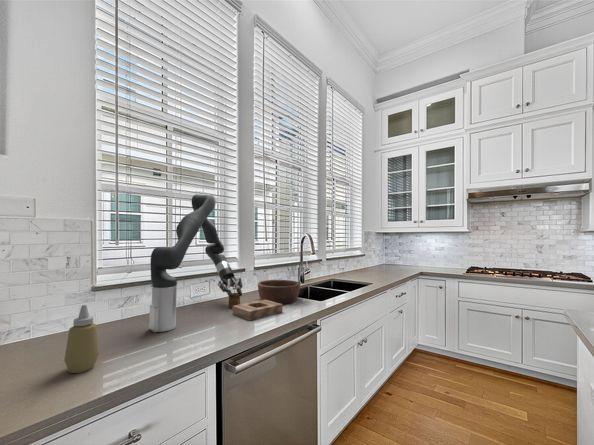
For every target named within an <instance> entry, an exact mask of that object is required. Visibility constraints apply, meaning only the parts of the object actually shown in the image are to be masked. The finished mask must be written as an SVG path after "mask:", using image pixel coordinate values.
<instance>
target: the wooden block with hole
mask: <svg viewBox="0 0 594 445" xmlns="http://www.w3.org/2000/svg"><path fill="white" fill-rule="evenodd" d="M283 305H284V304H280V303H276V302H272V301H269V300H261V299H260V300H256V301H250V302H247V303H246V302H245V303H240V305H234V306H233V308H232V315H233V316H236V317H238V318H242V319H245V320H247V321H253V320H257V319H261V318H265V317H269V316H270V317H271V316H274V315H277V314H278V315H279V314H281V313H283V311H284V310H283Z"/></svg>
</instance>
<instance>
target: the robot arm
mask: <svg viewBox="0 0 594 445" xmlns="http://www.w3.org/2000/svg"><path fill="white" fill-rule="evenodd" d="M191 207H192V210H193V211H191V212H189V213H188V214H185V216H183V217H182V218H181V220H180V221H179V222H178V224H177V225H176V228H175V234H176V237H177V242H176V243H175V244H174V246H157V247H155V248H154V249H152V251H151V254H150V281H151V285H152V287H151V304H150V305H149V317H148V318H149V321H148V327H149V328H148V329H149V330H150V331H152V332H153V333H158V332H159V333H161V332H167V331H172V330H174V329H175V328H176V327H177V326H176V325H177V296H178V295H177V294H178V290H177V289H178V288H177V287H178V279H177V278H176V277H174V276H172V275H170V274H169V273H168V272H167V270H175V269H178V268H179V266H180V265H181V264H182V262H183V260H184V258H185V256H186V254H187V251H188V249H189V247H190V245H191V244H192V242H193V240H194V238H195V237H196V236H197V234H198V232H199V230H200V229H201V228H202V232H203V234H204V238H205V242H206V243H207V244H208V245H207V247H206V246H205V249H204V251H205V254H206V256H208V258H209V259H210V260H212V262H213V265H214V266H215V268H216V272H217V274H218V277H219V278H220V280H219V281H218V283H217V286H218V287H219V288H220V290H221V291H222V292H223V293H226V294H227V296H228V297H230V298H232V297H233V294H232V293H233V291H232V290H231V287H232V288H233V287H234V285H236V289H235V291H236V293H239V297H240V298H241V297H242V296H243V291H242V288H243V281H242V278H236V277H235V274H234V271H233V269H232V267H231V265H230V264H229V261H228V260H227V257H226V256H225V255H224V254H223V253H224V252H225V246H224V244H223V243H222V241H221V240H220V238H219V236H218V235H219V234H218V230H217V228H216V226H215V225H214V223H213V222H212V221H211V220H210V219H209V218H208V217H209V216H210V214H211V213H212V212H213V211H214V209H215V207H216V198H215V196H214V195H213V194H209V193H201V194H200V193H199V194H198V193H197V194H194V195H193V196H192V198H191ZM234 283H235V284H234Z"/></svg>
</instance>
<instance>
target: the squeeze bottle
mask: <svg viewBox="0 0 594 445" xmlns="http://www.w3.org/2000/svg"><path fill="white" fill-rule="evenodd" d="M98 337H99V336H98V324H96V323H94V316H92V315H90V314H89V309H88V306H87V304H82V305H81V307H80V310H79V313H78V317H75V318H73V325H72V326H71V327H70V328H69V330H68V335H67V341H66V348H65V354H64V364H65V366H66V368H67V371H68V372H69V373H72V374H79V373H84V372H86V371H89V370H91V369H93V368H94V367H95V364H96V363H97V359H98V357H99V355H100V350H99V338H98Z"/></svg>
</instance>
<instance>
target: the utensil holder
mask: <svg viewBox="0 0 594 445" xmlns="http://www.w3.org/2000/svg"><path fill="white" fill-rule="evenodd" d="M234 284H235V283H234ZM232 290H233V292H232V294H233V297H232V298H230V297H229V296H228V297H229V298H228V308H230V309H233V306H234V305H240V304H241V296H240V297H239V293H237V292H236V285H234V287H232Z"/></svg>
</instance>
